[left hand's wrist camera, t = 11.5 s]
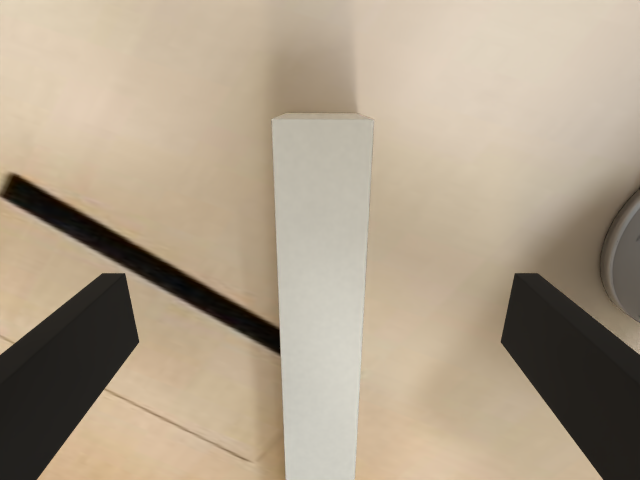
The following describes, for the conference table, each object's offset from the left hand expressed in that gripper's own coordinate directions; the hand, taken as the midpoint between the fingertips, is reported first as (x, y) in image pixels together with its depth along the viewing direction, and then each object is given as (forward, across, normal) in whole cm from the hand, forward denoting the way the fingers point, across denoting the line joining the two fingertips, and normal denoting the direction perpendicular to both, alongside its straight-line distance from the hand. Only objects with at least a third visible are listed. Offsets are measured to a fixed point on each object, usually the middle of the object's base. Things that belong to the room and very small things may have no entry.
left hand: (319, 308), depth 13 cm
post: (+18, 0, -24) cm, 29 cm away
